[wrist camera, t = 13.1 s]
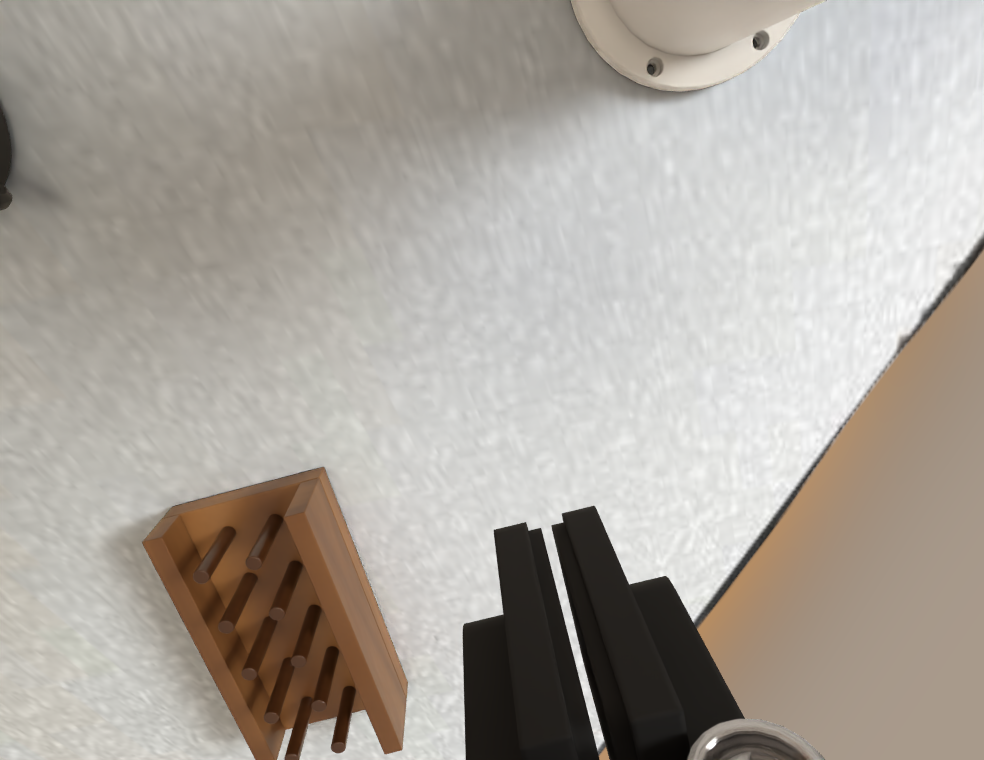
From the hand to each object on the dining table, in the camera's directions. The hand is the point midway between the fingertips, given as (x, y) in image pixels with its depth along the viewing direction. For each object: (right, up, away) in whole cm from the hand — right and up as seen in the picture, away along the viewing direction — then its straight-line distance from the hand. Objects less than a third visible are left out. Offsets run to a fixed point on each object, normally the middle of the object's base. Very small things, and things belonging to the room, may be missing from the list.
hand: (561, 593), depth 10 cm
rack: (-14, -11, +32) cm, 36 cm away
